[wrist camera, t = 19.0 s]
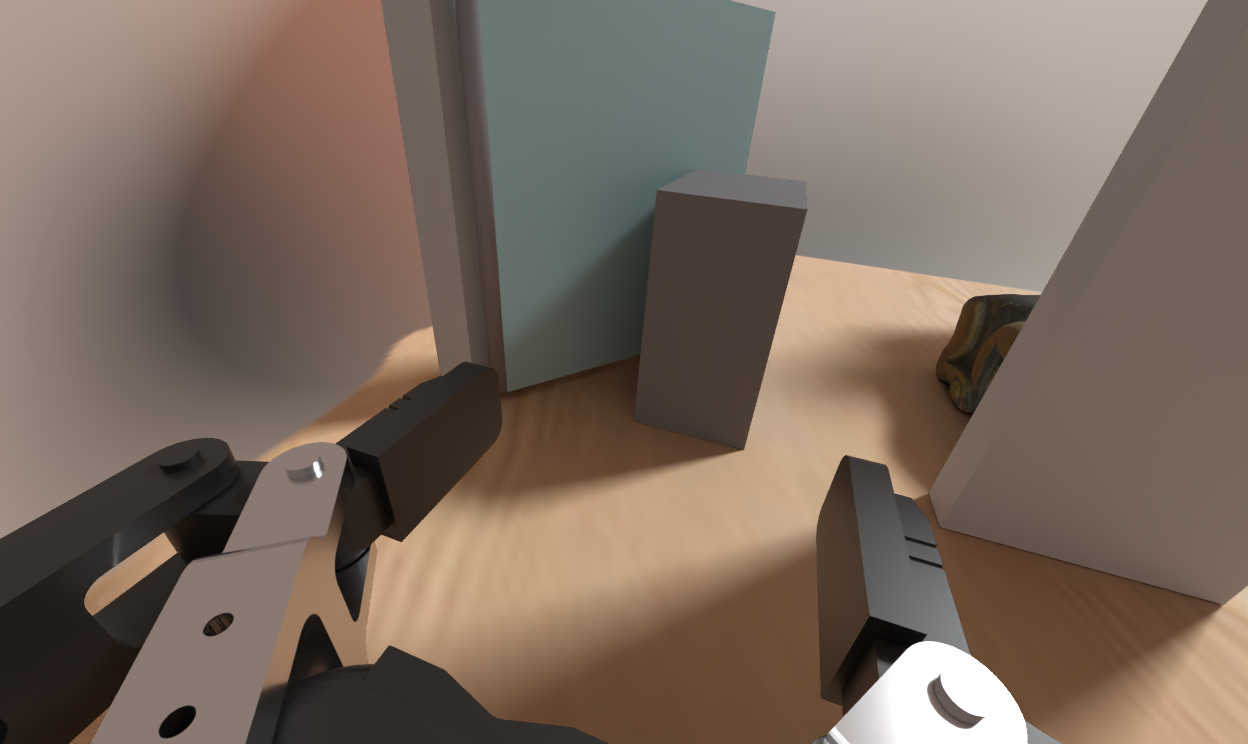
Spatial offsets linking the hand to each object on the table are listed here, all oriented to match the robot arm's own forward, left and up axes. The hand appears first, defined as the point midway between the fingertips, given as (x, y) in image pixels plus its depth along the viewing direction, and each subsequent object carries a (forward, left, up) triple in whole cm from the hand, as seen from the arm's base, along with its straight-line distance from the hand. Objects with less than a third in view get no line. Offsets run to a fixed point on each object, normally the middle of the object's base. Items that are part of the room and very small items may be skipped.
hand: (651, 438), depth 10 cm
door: (+6, -15, -7) cm, 18 cm away
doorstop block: (0, -14, -7) cm, 16 cm away
